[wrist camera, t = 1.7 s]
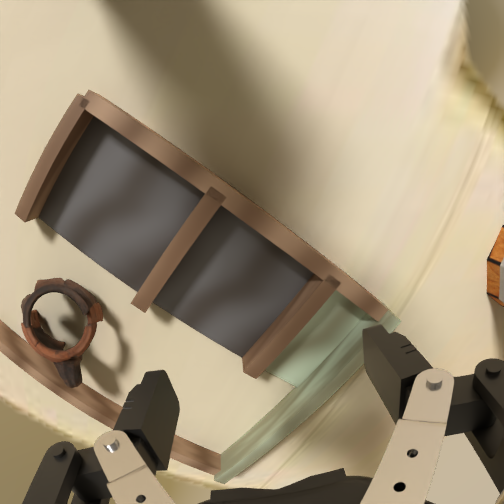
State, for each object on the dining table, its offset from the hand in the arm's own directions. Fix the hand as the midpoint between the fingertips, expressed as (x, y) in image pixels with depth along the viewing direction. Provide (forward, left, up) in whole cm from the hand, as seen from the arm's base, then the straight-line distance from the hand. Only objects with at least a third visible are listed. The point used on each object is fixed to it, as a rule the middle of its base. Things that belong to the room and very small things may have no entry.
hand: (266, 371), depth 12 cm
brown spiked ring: (-10, -18, -20) cm, 29 cm away
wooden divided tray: (-2, -12, -19) cm, 23 cm away
